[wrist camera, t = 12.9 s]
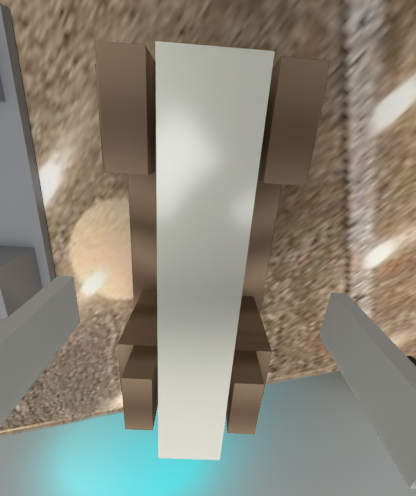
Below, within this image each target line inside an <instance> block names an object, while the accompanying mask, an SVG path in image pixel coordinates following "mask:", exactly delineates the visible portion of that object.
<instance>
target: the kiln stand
mask: <svg viewBox="0 0 416 496" xmlns="http://www.w3.org/2000/svg"><path fill="white" fill-rule="evenodd" d="M55 278H56V275H55V270H54V264H53V258H52V252H51V246H50V241H49V235H48V229H47V223H46V217H45V211H44V206H43V200H42V194H41V188H40V182H39V177H38V171H37V165H36V159H35V153H34V147H33V142H32V136H31V130H30V124H29V118H28V113H27V107H26V101H25V95H24V89H23V83H22V78H21V72H20V66H19V60H18V54H17V49H16V43H15V37H14V31H13V25H12V19H11V14H10V10H9V9H7V8H6V7H5V6H3V5H2V4H1V3H0V319H6V318H7V317H9V316H10V315H11V314H12V313H14V312H15V311H16V310H17V309H18V308H20V307H21V306H22V305H23V304H24V303H26V302H27V301H28V300H29V299H31V298H32V297H33V296H34V295H35V294H37V293H38V292H39V291H40V290H41V289H43V288H44V287H45V286H46V285H48V284H49V283H50V282H51V281H52V280H54V279H55Z"/></svg>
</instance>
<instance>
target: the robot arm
mask: <svg viewBox="0 0 416 496" xmlns="http://www.w3.org/2000/svg"><path fill="white" fill-rule="evenodd" d="M79 323H80V318H79V311H78V305H77V298H76V291H75V285H74V278H73V277H67V276H57V277H56V278H55V279H54V280H52V281H51V282H50V283H49V284H48V285H46V286H45V287H44V288H43V289H41V290H40V291H39V292H38V293H37V294H35V295H34V296H33V297H32V298H31V299H29V300H28V301H27V302H26V303H24V304H23V305H22V306H21V307H20V308H18V309H17V310H16V311H15V312H14V313H12V314H11V315H10V316H9V317H7V318H6V319H5V320H4V321H3V322H1V323H0V427H1V425H2V424H3V423H4V421H5V420H6V419H7V418H8V416H9V415H10V414H11V412H12V411H13V410H14V408H15V407H16V406H17V404H18V403H19V402H20V400H21V399H22V398H23V396H24V395H25V394H26V392H27V391H28V390H29V389H30V387H31V386H32V385H33V383H34V382H35V381H36V379H37V378H38V377H39V375H40V374H41V373H42V371H43V370H44V369H45V367H46V366H47V365H48V363H49V362H50V361H51V360H52V358H53V357H54V356H55V354H56V353H57V352H58V350H59V349H60V348H61V346H62V345H63V344H64V342H65V341H66V340H67V338H68V337H69V336H70V334H71V333H72V332H73V331H74V329H75V328H76V327H77V325H78V324H79ZM319 337H320V338H321V340H322V342H323V343H324V345H325V347H326V348H327V350H328V352H329V353H330V355H331V357H332V358H333V360H334V362H335V363H336V365H337V367H338V369H339V370H340V372H341V374H342V375H343V377H344V379H345V380H346V382H347V384H348V385H349V387H350V389H351V390H352V392H353V394H354V395H355V397H356V399H357V400H358V402H359V403H360V405H361V407H362V409H363V410H364V412H365V414H366V415H367V417H368V419H369V420H370V422H371V424H372V426H373V427H374V429H375V431H376V432H377V434H378V436H379V437H380V439H381V441H382V442H383V444H384V446H385V447H386V449H387V451H388V453H389V454H390V456H391V458H392V459H393V461H394V462H395V464H396V466H397V468H398V469H399V471H400V473H401V474H402V476H403V478H404V479H405V481H406V483H407V484H408V486H409V488H412V489H416V359H415V358H413V357H412V356H406V355H405V354H404V353H403V352H402V351H401V350H400V349H399V348H398V347H397V346H396V345H395V344H394V343H393V342H392V341H391V340H390V339H389V338H388V337H387V336H386V335H385V334H384V332H383V331H382V330H381V329H380V328H379V327H378V326H377V325H376V324H375V323H374V322H373V321H372V320H371V319H370V318H369V317H368V316H367V315H366V314H365V313H364V312H363V311H362V310H361V309H360V308H359V307H358V305H357V304H356V303H355V302H354V301H353V300H352V299H351V298H350V297H349V296H348V295H347V294H343V293H331V296H330V299H329V303H328V306H327V310H326V313H325V317H324V320H323V324H322V327H321V331H320V334H319Z"/></svg>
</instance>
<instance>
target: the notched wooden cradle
mask: <svg viewBox="0 0 416 496" xmlns="http://www.w3.org/2000/svg"><path fill="white" fill-rule="evenodd" d="M95 50H96V63H97V64H95V71H96V84H97V96H98V108H99V121H100V133H101V146H102V158H103V167H105V172H111V173H125V174H128V188H129V209H130V230H131V252H132V273H133V294H134V310H133V312H132V314H131V316H130V319H129V321H128V323H127V325H126V327H125V329H124V331H123V333H122V336H121V338H120V340H119V342H118V344H117V345H118V357H119V369H120V382H121V391H122V395H123V407H124V418H125V419H124V420H125V429H136V430H153V426H154V421H155V416H156V410H157V406H158V335H157V198H156V63H155V61H154V60H153V58H152V56H151V54H150V52H149V51H148V49H147V47H146V45H138V44H126V43H114V42H102V41H95ZM329 64H330V61H327V60H316V59H304V58H292V57H281V58H280V59H279V61H278V62H277V63H276V65H275V66H274V67H273V68H272V75H271V83H270V90H269V97H268V105H267V112H266V120H265V127H264V135H263V142H262V150H261V157H260V164H259V172H258V179H257V187H256V194H255V202H254V209H253V216H252V224H251V231H250V239H249V246H248V254H247V261H246V268H245V276H244V283H243V291H242V298H241V306H240V313H239V320H238V328H237V335H236V343H235V350H234V358H233V365H232V372H231V380H230V387H229V395H228V402H227V410H226V419H227V432H228V433H237V434H254V433H255V428H256V424H257V419H258V414H259V409H260V404H261V399H262V397H263V393H264V388H265V383H266V378H267V373H268V368H269V363H270V358H271V354H272V351H271V348H270V345H269V342H268V339H267V336H266V333H265V329H264V326H263V323H262V320H261V317H260V310H261V305H262V299H263V293H264V287H265V281H266V275H267V269H268V263H269V257H270V252H271V246H272V240H273V234H274V228H275V222H276V216H277V210H278V205H279V199H280V193H281V187H282V184H284V185H299V186H305V182H306V181H307V177H308V172H309V167H310V163H311V158H312V153H313V148H314V143H315V138H316V133H317V128H318V123H319V118H320V114H321V109H322V104H323V99H324V94H325V89H326V84H327V83H326V79H327V74H328V69H329Z"/></svg>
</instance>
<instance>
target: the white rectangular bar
mask: <svg viewBox="0 0 416 496" xmlns="http://www.w3.org/2000/svg"><path fill="white" fill-rule="evenodd" d="M274 53H275V51H266V50H254V49H242V48H230V47H219V46H207V45H195V44H183V43H171V42H160V41H155V61H156V198H157V335H158V457H159V458H177V459H205V460H220V454H221V447H222V439H223V432H224V424H225V417H226V410H227V402H228V395H229V387H230V380H231V372H232V365H233V358H234V350H235V343H236V335H237V328H238V320H239V313H240V306H241V298H242V291H243V283H244V276H245V268H246V261H247V254H248V246H249V239H250V231H251V224H252V216H253V209H254V202H255V194H256V187H257V179H258V172H259V164H260V157H261V150H262V142H263V135H264V127H265V120H266V112H267V105H268V97H269V90H270V83H271V75H272V68H273V60H274Z"/></svg>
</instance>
